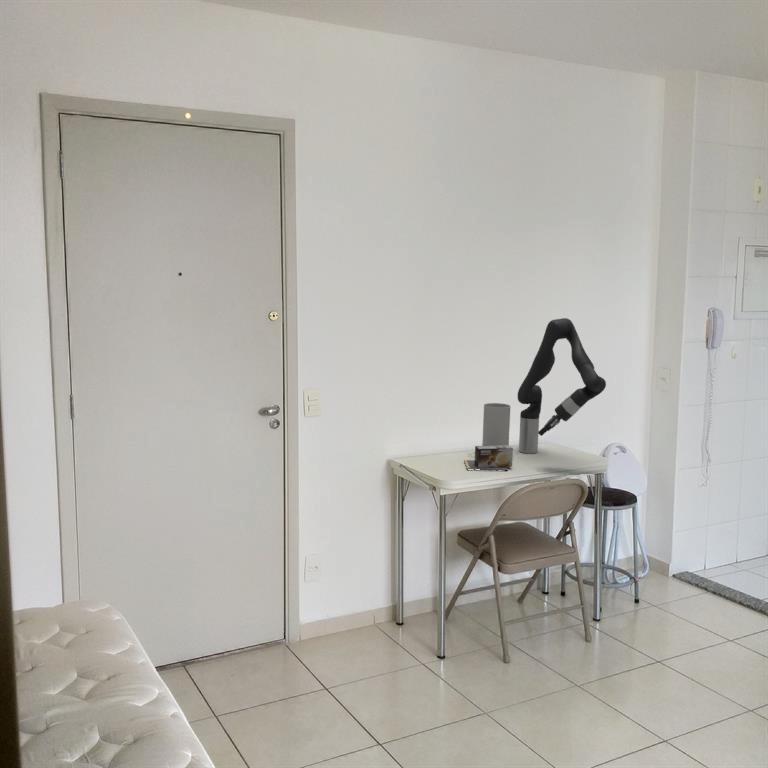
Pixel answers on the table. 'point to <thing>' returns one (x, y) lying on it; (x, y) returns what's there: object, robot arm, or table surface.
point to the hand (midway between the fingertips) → (539, 434)
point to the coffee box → (493, 456)
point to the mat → (471, 466)
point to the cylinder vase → (496, 424)
